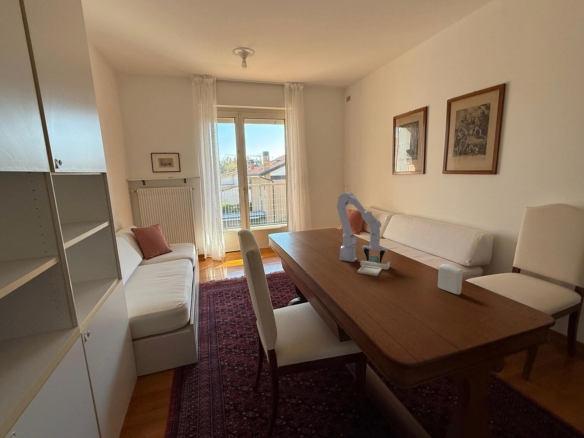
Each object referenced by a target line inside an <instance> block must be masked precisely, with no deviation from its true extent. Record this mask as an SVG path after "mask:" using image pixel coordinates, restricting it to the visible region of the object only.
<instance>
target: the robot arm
mask: <svg viewBox="0 0 584 438" xmlns="http://www.w3.org/2000/svg"><path fill="white" fill-rule="evenodd" d="M336 203H337V204H336V209H337V213H338V217H339V220H340V223H341V228H342V232H343V234H342V245H341V246H340V249H339V260H340V261H343V262H344V261H345V262H351V263H352V262H353V263H354V262H355V261H356V260H357V259H358V258H357V257H356V243H357V242H358V239H357V237H356V236H355V233H354V232H353V230H352V227H351V222H350V220H349V215H348V210H347V206H348V205H353V206H354V207H355V209H356V210H357V211H358V212H359V213H360V214H361V218H362V219H363V221H364V222H366V224H367V225H368V228H369V230H370V232H369V245H364V244H363V245H362V247H361V248H362V250H363V252H364V254H365V258H366V261H368V262H370V260H369V259H370V251H378V252H379V263H382V260H383V258H384V255H385V253H387V252H388V248H387V247H381V246H380V244H381V243H380V242H381V240H380V239H381V238H380V237H381V227H382V223H381V221H380V220H378V218H375V216H374V215H373V212H372V211H369V210H367V209H366V208H364V206H363V205H362V203H361V202H360V201H359V200H358V198H357V197H356V196H355V194H354V193H353V192H351V191H347V192H341V193H340V194H339V195H338V197H337V202H336Z"/></svg>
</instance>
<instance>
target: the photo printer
mask: <svg viewBox="0 0 584 438" xmlns="http://www.w3.org/2000/svg"><path fill="white" fill-rule="evenodd" d="M463 274H464V273H463V270H462V269H461V268H459V267H457V266H455V265H453V264H447V263H443V264H439V267H438V273H437V275H438V277H437V288H438V289H441V290H442V291H445V292H449V293H452V294H455V295H461V294H462V290H463V289H462V287H463V286H462V285H463Z"/></svg>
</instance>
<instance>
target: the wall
mask: <svg viewBox="0 0 584 438" xmlns="http://www.w3.org/2000/svg"><path fill="white" fill-rule="evenodd" d="M359 264H360V267H361V266H362V265H366V266H373V267H379V268H382V270H385V271H386V270H389V268H390V266H391V265H390V264H391V262H390V261H387V263H383V262H381V263H380V262H378V263H375V262H370V261H367V260H360V261H359Z"/></svg>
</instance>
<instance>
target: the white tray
mask: <svg viewBox="0 0 584 438" xmlns="http://www.w3.org/2000/svg"><path fill="white" fill-rule="evenodd" d="M382 270H383V269H382V268H379V267H373V266H366V265H362V266H360V267H359V269H358V270H357V274H362V275H369V276H376V277H378V276H379V275H380V273H381V272H382Z"/></svg>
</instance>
